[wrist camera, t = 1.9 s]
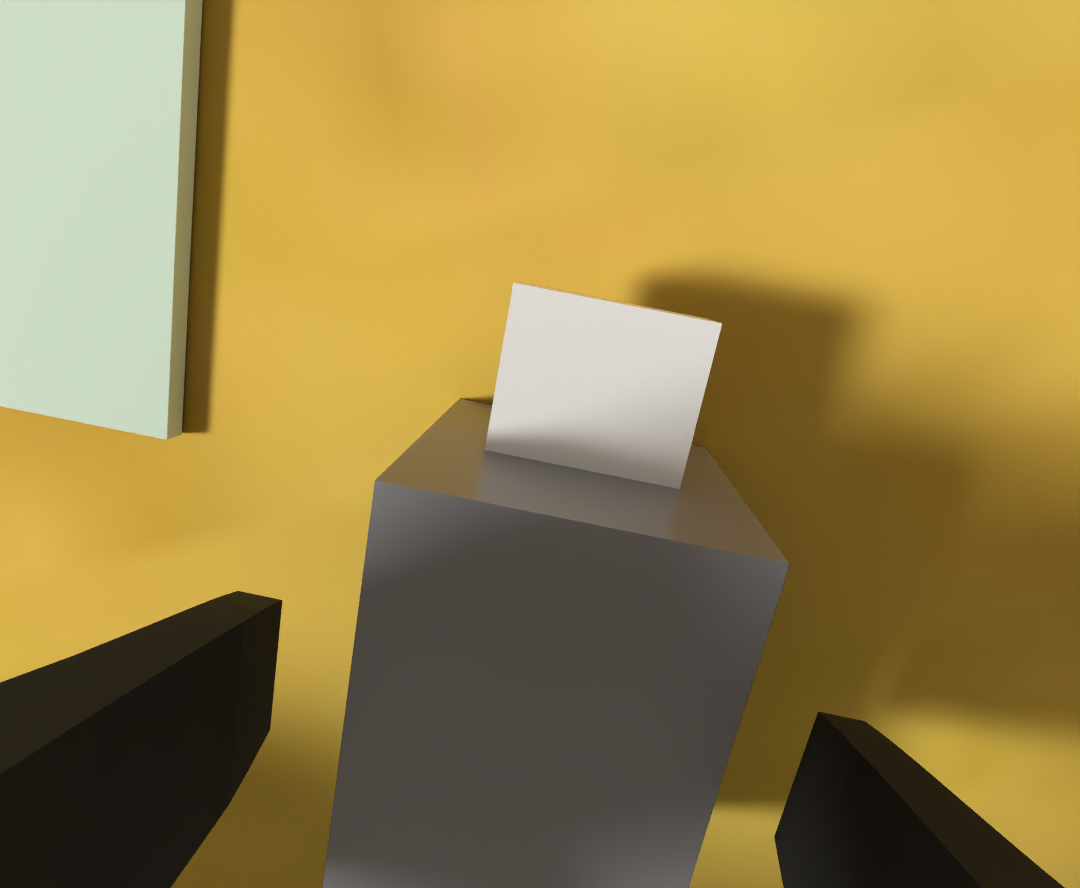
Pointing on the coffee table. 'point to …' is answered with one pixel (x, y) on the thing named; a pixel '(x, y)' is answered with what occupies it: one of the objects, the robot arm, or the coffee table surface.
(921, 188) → the coffee table surface
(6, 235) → the mat
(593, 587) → the grey power adapter
